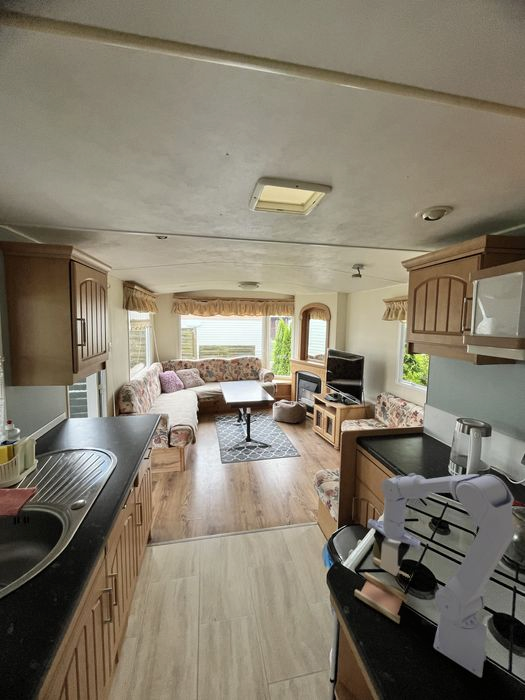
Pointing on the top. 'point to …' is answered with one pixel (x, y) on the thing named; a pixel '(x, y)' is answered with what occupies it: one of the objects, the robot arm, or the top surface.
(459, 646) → the robot arm
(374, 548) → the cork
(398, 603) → the tray
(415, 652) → the top surface
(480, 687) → the top surface
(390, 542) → the peg
